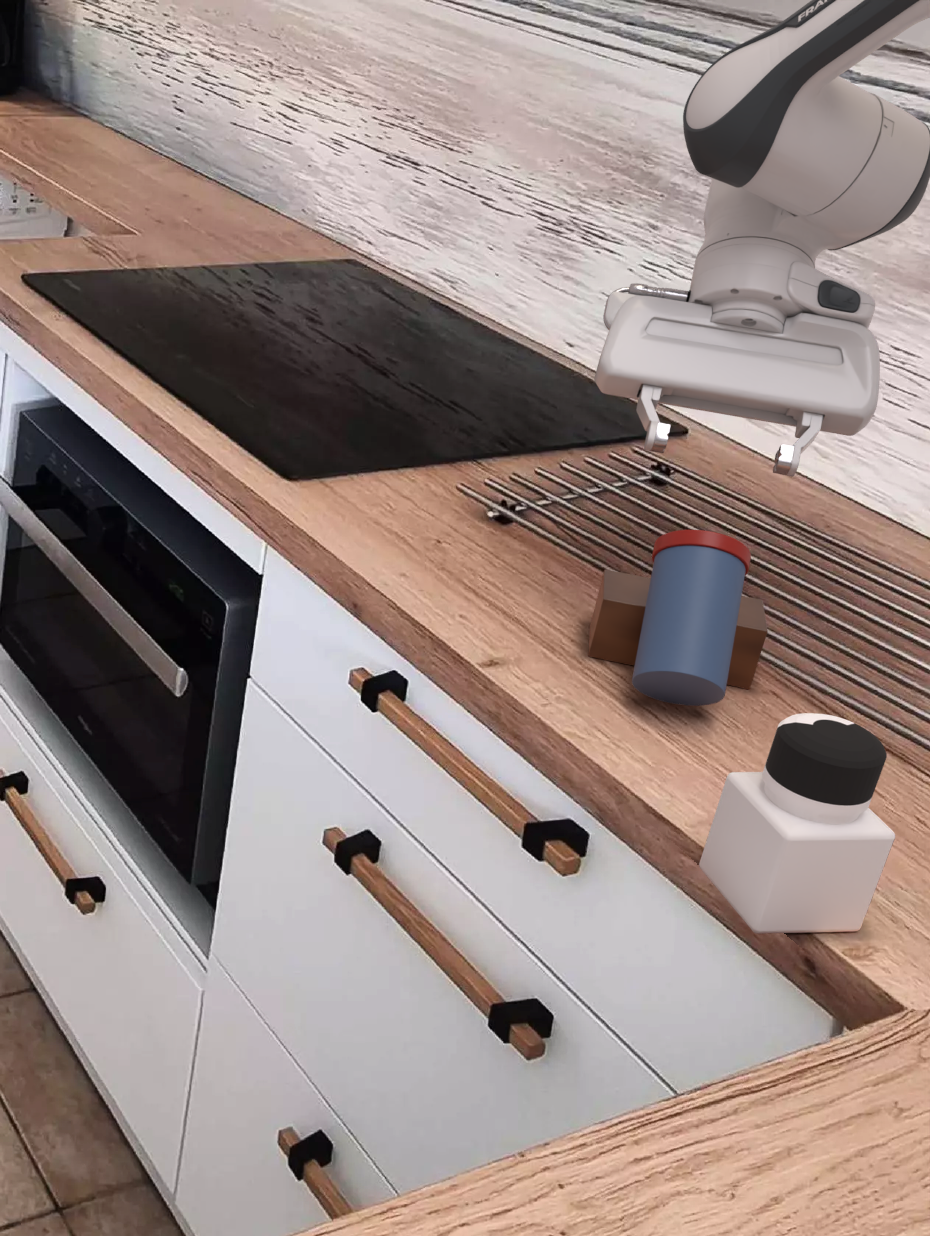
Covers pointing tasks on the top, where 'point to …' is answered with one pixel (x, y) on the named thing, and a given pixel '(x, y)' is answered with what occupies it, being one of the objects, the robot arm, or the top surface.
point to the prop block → (623, 619)
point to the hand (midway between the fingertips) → (719, 460)
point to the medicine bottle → (802, 830)
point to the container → (690, 617)
